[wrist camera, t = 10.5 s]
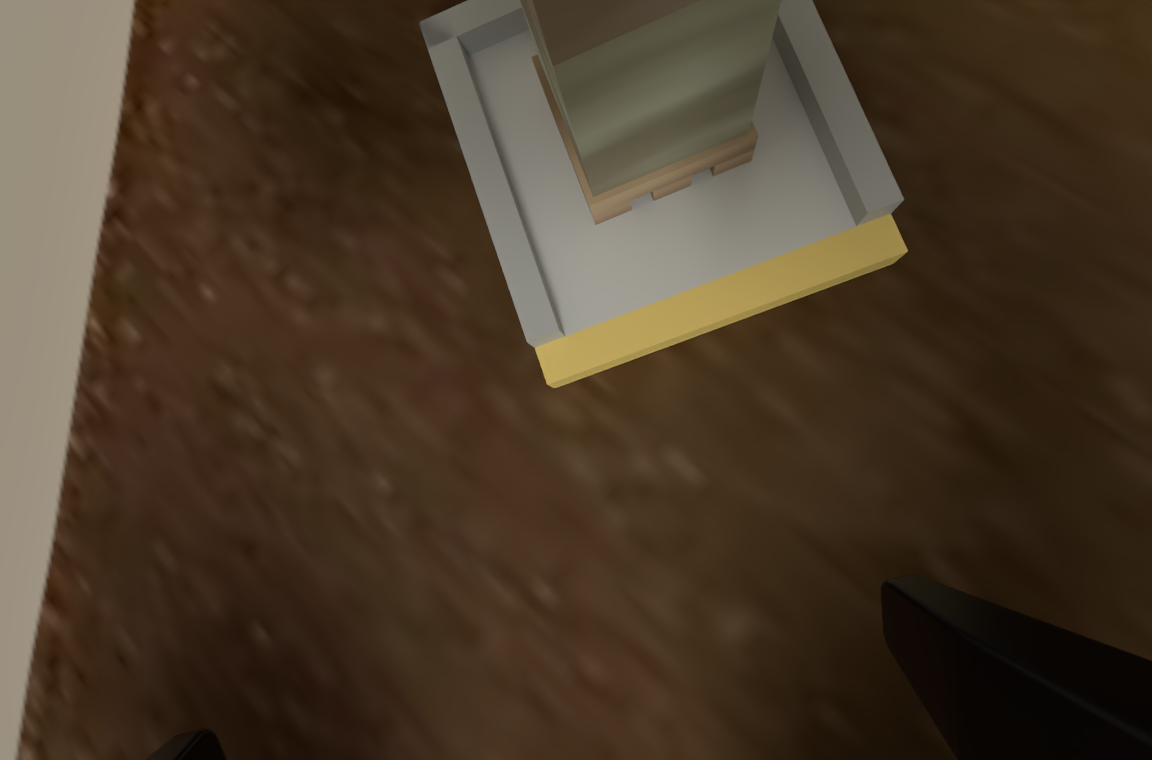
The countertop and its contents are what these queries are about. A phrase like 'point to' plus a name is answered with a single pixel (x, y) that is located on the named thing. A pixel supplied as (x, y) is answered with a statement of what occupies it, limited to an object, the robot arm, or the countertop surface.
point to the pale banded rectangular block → (650, 89)
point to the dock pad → (664, 199)
